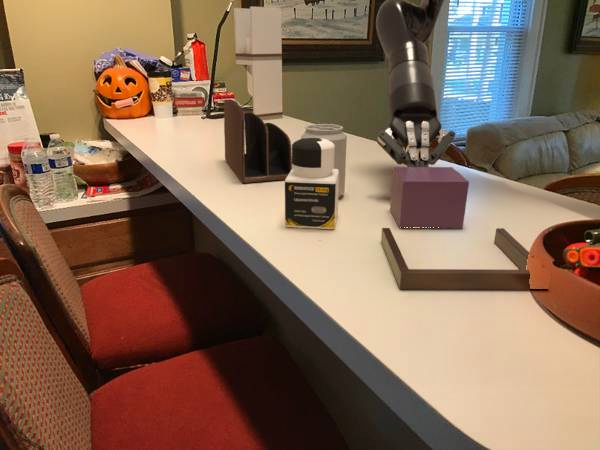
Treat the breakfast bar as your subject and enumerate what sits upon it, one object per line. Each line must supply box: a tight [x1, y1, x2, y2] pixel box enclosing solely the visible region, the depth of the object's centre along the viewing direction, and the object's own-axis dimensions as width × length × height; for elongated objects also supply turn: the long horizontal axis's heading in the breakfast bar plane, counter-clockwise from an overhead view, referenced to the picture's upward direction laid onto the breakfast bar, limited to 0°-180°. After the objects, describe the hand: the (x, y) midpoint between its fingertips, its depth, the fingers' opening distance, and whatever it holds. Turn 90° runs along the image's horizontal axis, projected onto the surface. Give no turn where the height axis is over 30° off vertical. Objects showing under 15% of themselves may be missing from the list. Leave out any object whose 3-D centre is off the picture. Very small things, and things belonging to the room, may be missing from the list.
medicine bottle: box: [284, 138, 339, 230], centre depth 68 cm, size 7×7×12 cm
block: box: [389, 166, 470, 230], centre depth 69 cm, size 9×8×7 cm
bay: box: [380, 227, 531, 291], centre depth 56 cm, size 16×13×2 cm
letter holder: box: [223, 98, 292, 185], centre depth 95 cm, size 10×20×14 cm, turn 18°
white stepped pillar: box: [233, 6, 283, 121], centre depth 159 cm, size 11×11×35 cm
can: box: [300, 123, 348, 199], centre depth 79 cm, size 8×8×12 cm
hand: (420, 185), depth 73 cm, fingers closed
